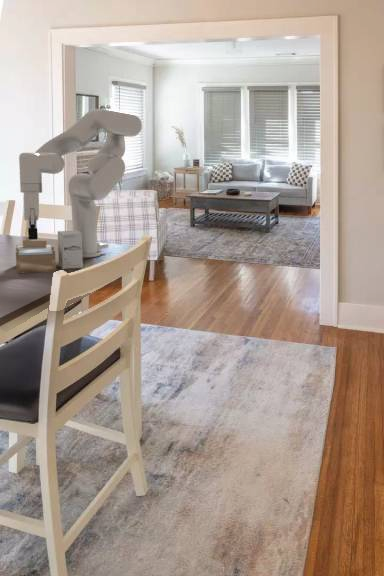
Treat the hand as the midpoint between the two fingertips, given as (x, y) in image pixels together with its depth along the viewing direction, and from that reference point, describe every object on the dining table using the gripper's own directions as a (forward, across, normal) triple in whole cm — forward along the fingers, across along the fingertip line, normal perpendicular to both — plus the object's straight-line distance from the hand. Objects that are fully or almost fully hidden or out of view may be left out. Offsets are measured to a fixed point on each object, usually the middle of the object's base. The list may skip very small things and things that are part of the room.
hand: (33, 239), depth 209 cm
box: (+9, +9, +1) cm, 13 cm away
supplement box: (+9, +9, +13) cm, 18 cm away
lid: (+3, +9, 0) cm, 9 cm away
